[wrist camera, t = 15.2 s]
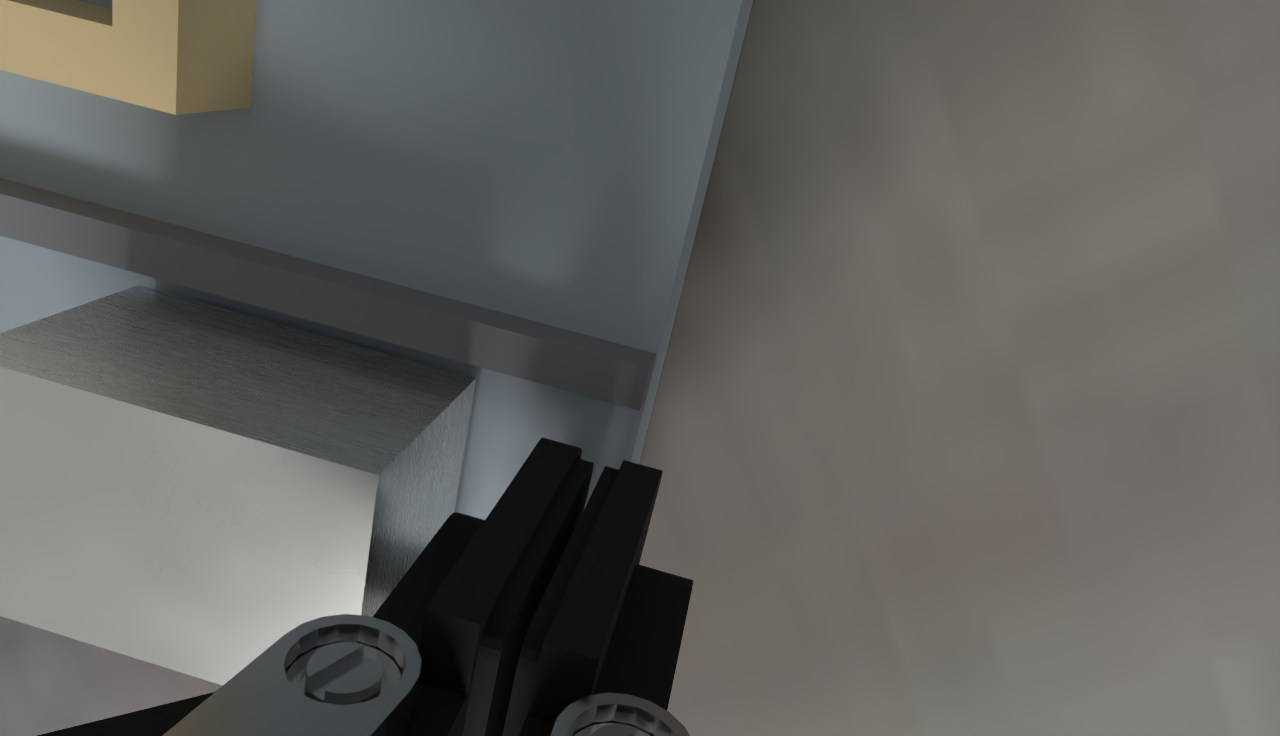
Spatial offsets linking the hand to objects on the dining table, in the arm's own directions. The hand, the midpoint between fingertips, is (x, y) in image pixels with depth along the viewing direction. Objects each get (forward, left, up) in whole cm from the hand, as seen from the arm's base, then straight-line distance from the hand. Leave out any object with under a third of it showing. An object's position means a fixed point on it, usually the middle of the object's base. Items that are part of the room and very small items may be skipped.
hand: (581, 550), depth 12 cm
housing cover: (-5, 0, -1) cm, 5 cm away
